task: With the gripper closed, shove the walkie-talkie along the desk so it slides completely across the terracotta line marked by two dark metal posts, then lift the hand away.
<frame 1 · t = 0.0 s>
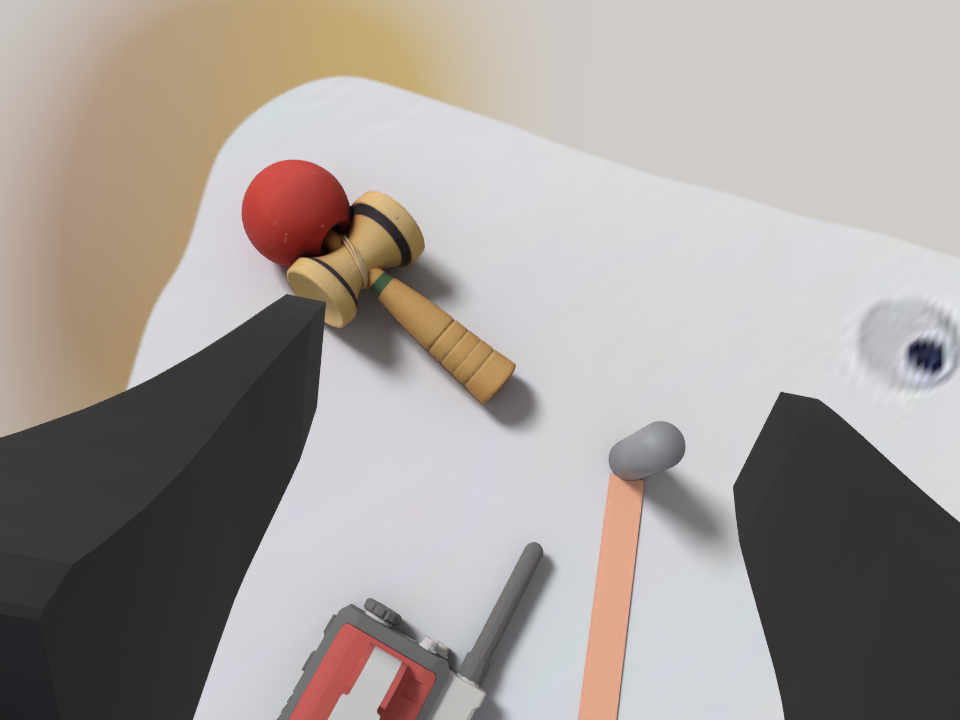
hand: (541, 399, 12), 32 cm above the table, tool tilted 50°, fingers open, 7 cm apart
kendama: (382, 297, 47), on the table
finish line: (597, 719, 41), on the table
walkie-talkie: (391, 682, 42), on the table
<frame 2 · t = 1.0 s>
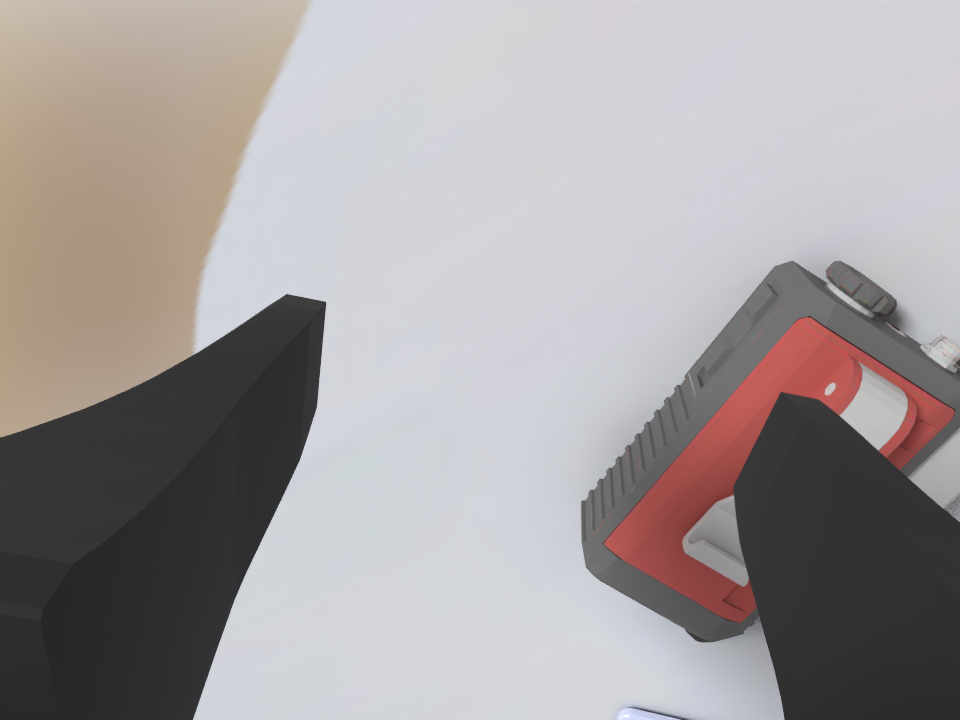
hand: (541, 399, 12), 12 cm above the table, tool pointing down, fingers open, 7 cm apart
walkie-talkie: (834, 380, 25), on the table
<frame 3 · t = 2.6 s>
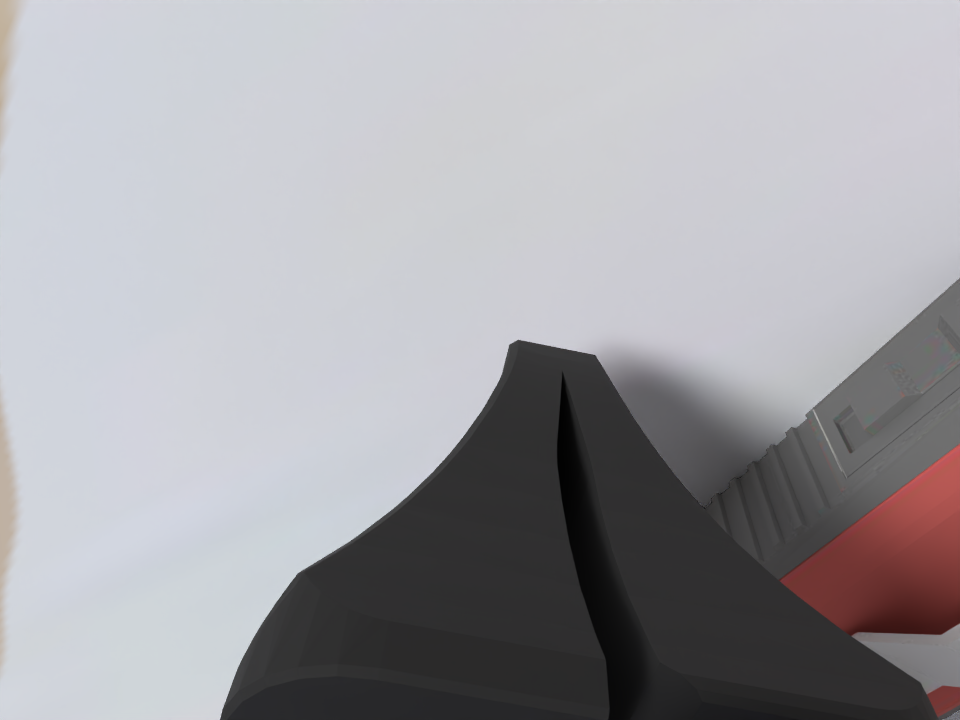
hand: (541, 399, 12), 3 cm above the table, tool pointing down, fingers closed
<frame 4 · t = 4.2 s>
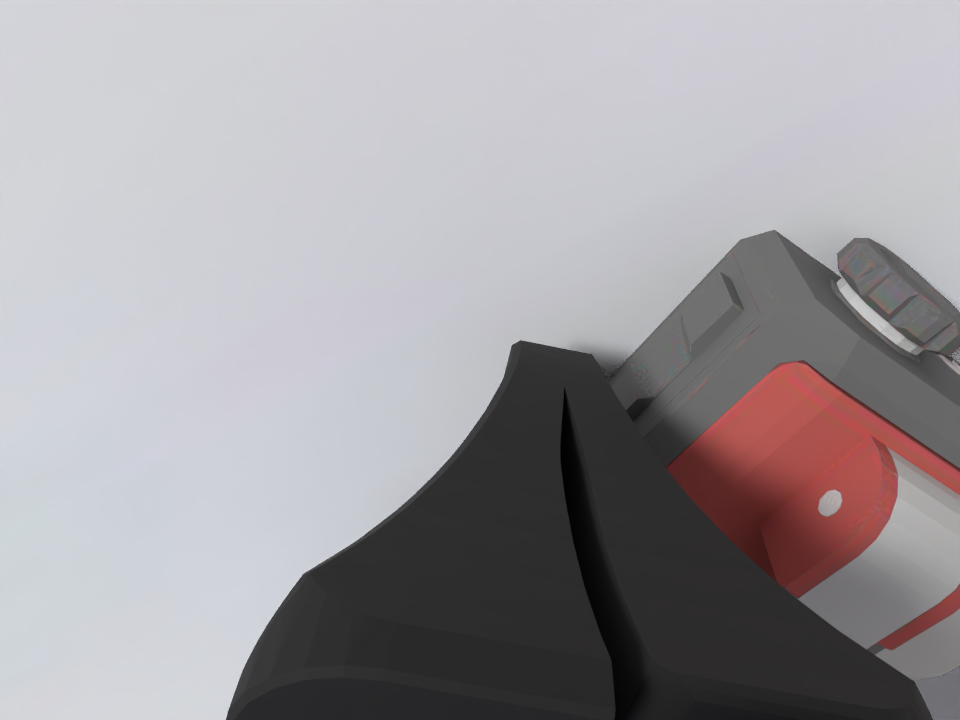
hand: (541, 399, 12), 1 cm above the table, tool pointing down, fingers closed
walkie-talkie: (824, 424, 15), on the table, touching gripper
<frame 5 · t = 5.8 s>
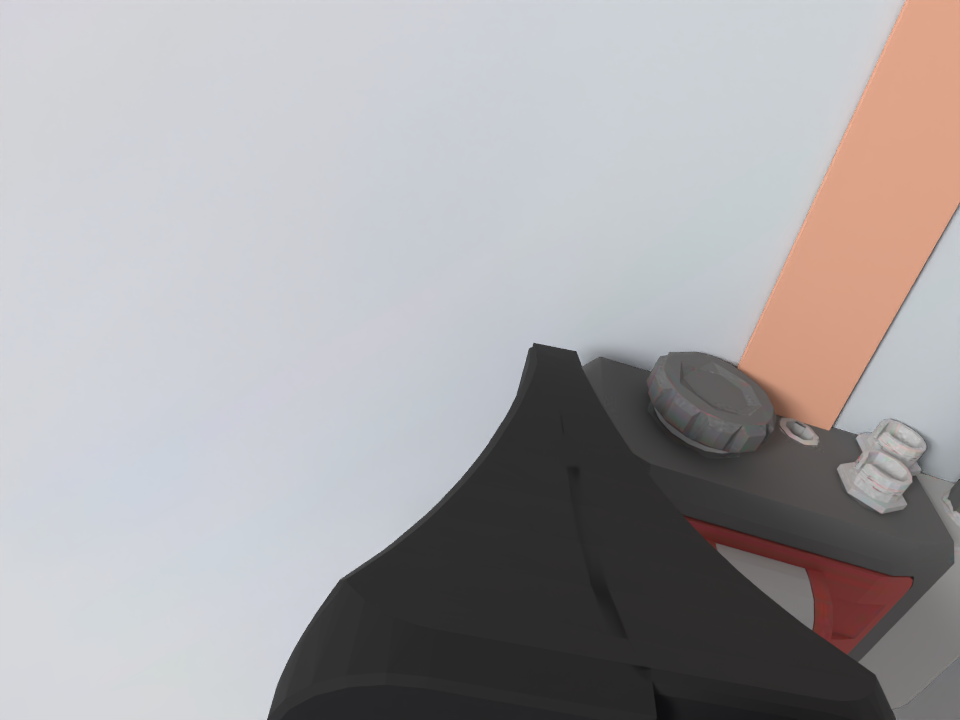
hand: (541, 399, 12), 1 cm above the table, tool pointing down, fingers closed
finish line: (781, 400, 14), on the table
walkie-talkie: (734, 490, 16), on the table, touching finish line, gripper
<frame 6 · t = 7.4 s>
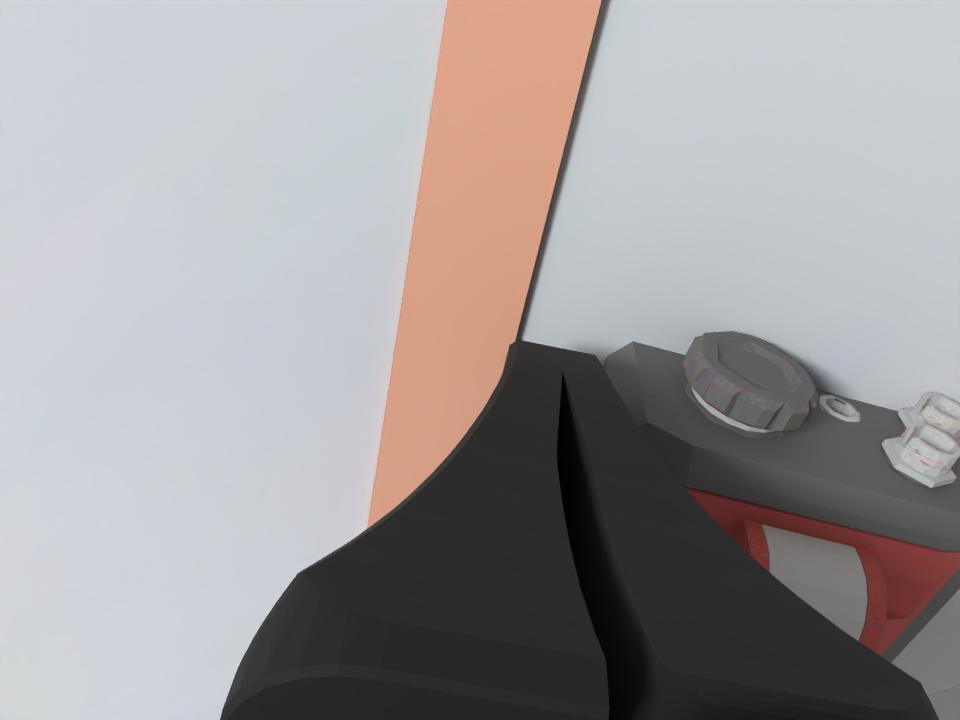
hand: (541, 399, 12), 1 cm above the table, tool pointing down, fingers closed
finish line: (456, 334, 13), on the table
walkie-talkie: (772, 472, 15), on the table
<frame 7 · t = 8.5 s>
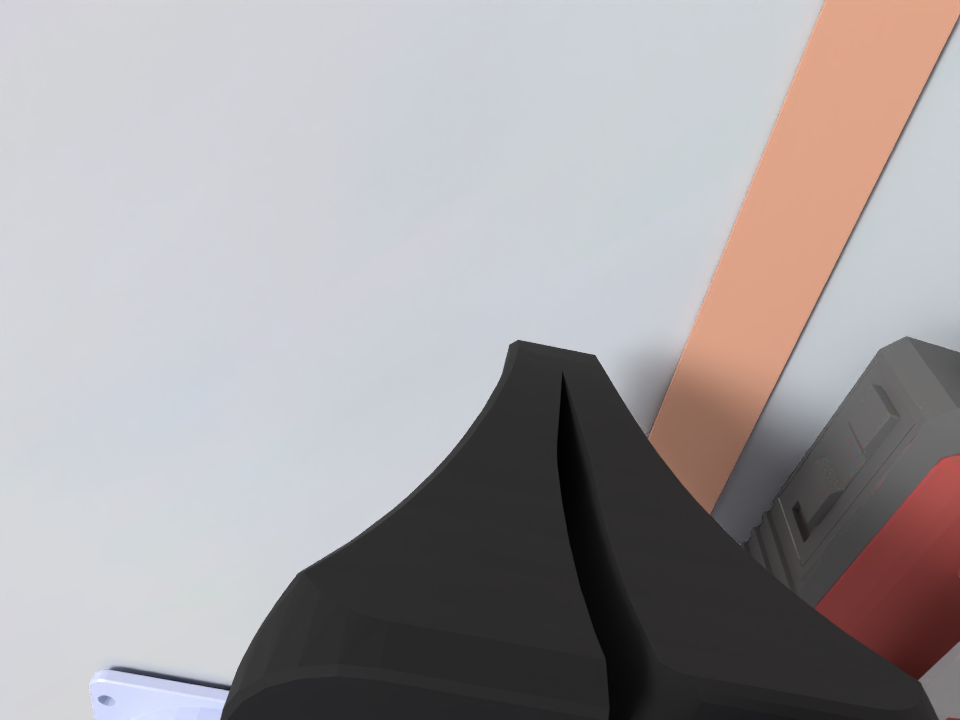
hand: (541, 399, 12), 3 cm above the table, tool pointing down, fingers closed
finish line: (745, 329, 15), on the table
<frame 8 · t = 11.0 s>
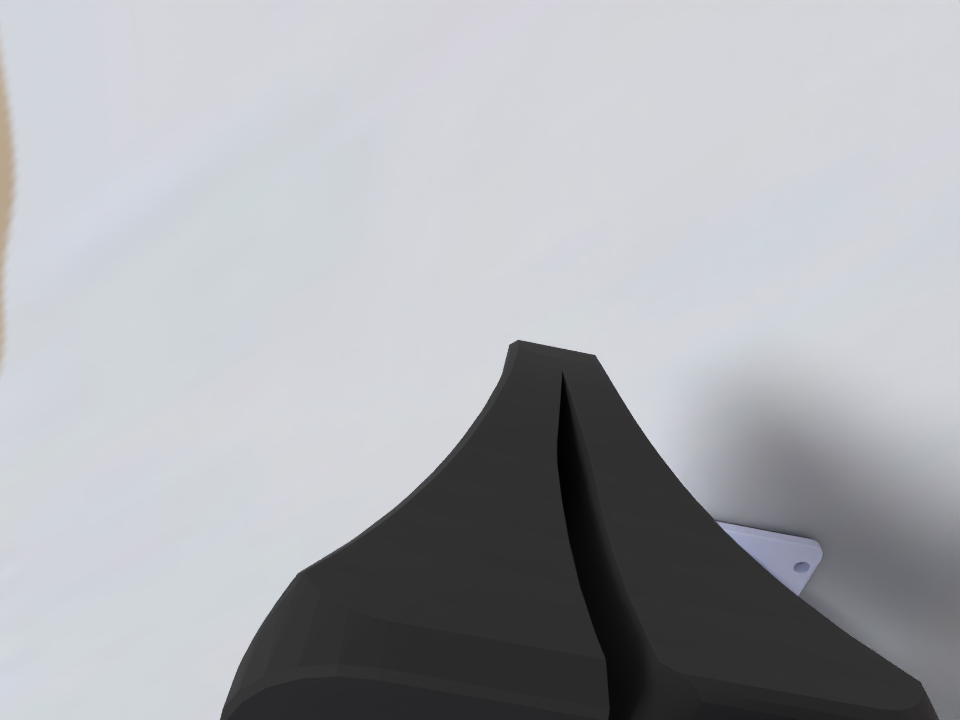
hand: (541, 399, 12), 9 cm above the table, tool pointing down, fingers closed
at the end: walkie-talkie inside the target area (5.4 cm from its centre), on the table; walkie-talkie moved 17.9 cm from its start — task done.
